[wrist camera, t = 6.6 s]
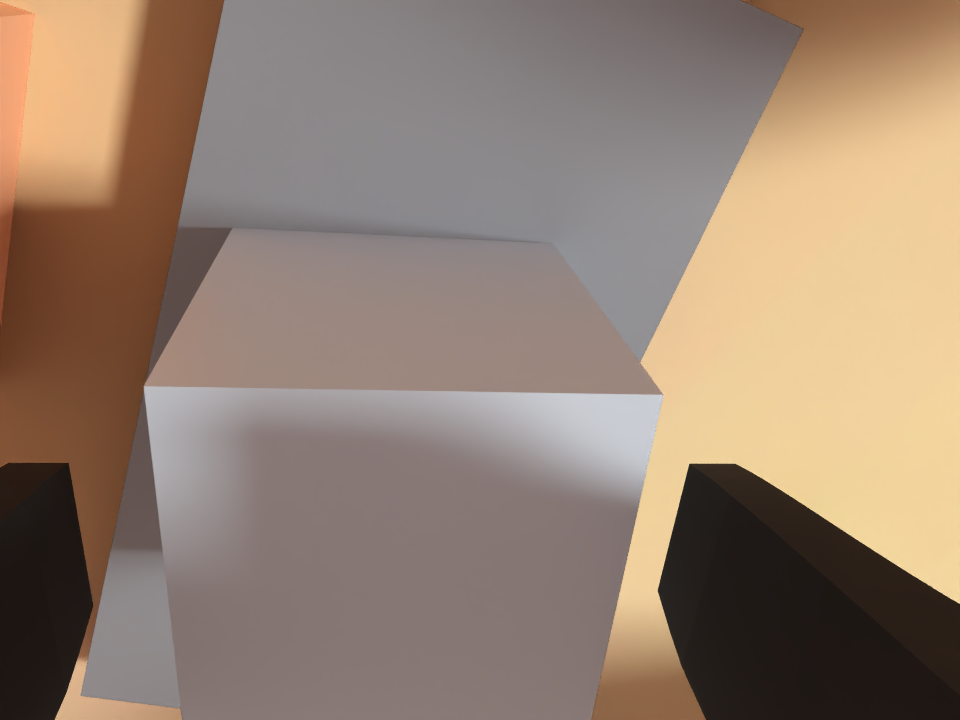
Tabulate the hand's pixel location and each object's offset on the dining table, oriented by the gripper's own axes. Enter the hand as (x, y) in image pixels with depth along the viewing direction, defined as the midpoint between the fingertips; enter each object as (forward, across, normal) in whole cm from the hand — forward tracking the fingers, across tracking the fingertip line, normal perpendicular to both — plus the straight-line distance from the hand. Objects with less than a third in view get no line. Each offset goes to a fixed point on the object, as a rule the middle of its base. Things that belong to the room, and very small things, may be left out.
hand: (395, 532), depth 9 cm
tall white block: (+3, 0, 0) cm, 3 cm away
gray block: (+4, 0, 0) cm, 4 cm away
